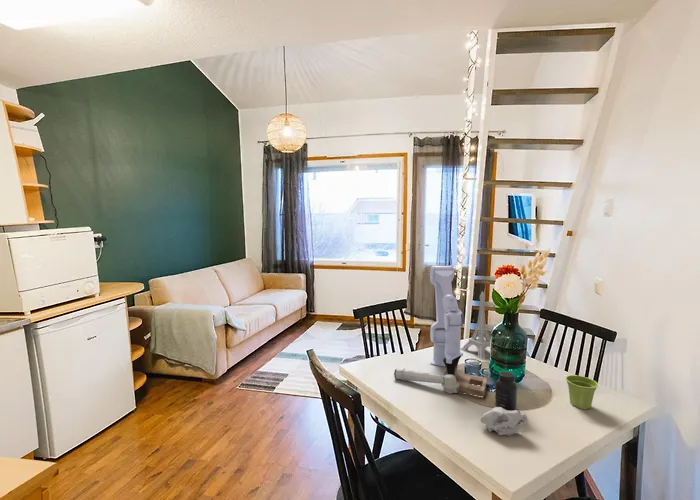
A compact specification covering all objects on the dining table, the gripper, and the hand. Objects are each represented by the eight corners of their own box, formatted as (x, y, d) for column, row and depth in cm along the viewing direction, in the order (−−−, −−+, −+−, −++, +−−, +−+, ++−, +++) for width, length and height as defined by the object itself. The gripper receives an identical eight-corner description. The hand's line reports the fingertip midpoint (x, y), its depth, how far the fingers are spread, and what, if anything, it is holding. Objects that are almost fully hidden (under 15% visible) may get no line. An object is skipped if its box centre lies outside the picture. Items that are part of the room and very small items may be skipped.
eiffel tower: (479, 345, 177) (481, 288, 174) (501, 354, 165) (503, 293, 162) (460, 349, 171) (462, 290, 168) (481, 359, 159) (483, 296, 156)
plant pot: (567, 409, 117) (569, 384, 116) (561, 395, 126) (562, 373, 125) (600, 414, 114) (602, 389, 113) (591, 400, 123) (593, 377, 122)
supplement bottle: (499, 400, 123) (501, 367, 122) (519, 407, 118) (521, 374, 117) (491, 407, 118) (492, 374, 117) (512, 415, 113) (513, 380, 112)
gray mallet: (397, 366, 142) (459, 371, 130) (399, 382, 143) (461, 388, 130) (392, 371, 138) (455, 377, 125) (394, 387, 138) (458, 394, 125)
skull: (477, 412, 111) (508, 391, 108) (497, 435, 109) (528, 415, 106) (478, 424, 103) (511, 402, 100) (499, 449, 102) (533, 428, 99)
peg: (448, 377, 140) (448, 361, 140) (456, 379, 139) (457, 362, 138) (446, 381, 138) (447, 364, 137) (455, 382, 136) (455, 365, 135)
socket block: (460, 378, 139) (461, 372, 139) (487, 384, 135) (487, 378, 135) (455, 391, 129) (455, 385, 129) (483, 398, 124) (483, 391, 124)
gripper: (460, 349, 128) (459, 384, 130) (466, 337, 141) (465, 369, 143) (441, 346, 132) (440, 380, 133) (448, 334, 145) (448, 365, 146)
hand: (452, 374), depth 138 cm, fingers open, 4 cm apart
